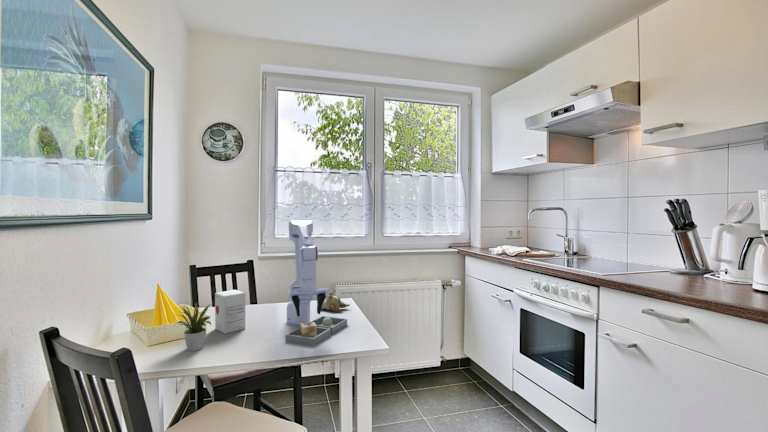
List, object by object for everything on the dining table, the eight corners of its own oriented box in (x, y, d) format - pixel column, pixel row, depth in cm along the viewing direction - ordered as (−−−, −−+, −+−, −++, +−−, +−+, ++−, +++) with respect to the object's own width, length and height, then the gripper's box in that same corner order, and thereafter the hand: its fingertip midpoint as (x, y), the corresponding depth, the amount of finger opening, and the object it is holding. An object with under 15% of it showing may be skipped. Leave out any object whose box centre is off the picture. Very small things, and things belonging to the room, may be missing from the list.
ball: (320, 328, 150) (320, 318, 150) (325, 325, 154) (325, 315, 154) (328, 329, 149) (328, 319, 149) (333, 326, 152) (333, 316, 152)
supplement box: (214, 329, 151) (214, 292, 151) (235, 324, 157) (235, 289, 157) (224, 334, 145) (223, 296, 144) (246, 328, 151) (245, 292, 151)
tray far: (306, 331, 148) (306, 323, 148) (322, 322, 159) (322, 315, 159) (332, 335, 144) (332, 327, 144) (347, 326, 155) (347, 319, 155)
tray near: (285, 342, 136) (285, 334, 135) (304, 332, 147) (304, 325, 147) (313, 347, 131) (313, 338, 131) (330, 336, 142) (330, 328, 142)
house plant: (164, 360, 120) (164, 309, 120) (170, 345, 133) (169, 300, 132) (213, 353, 126) (213, 305, 125) (214, 339, 138) (213, 296, 138)
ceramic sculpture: (324, 288, 186) (351, 293, 181) (323, 305, 187) (350, 310, 182) (312, 293, 176) (341, 298, 171) (312, 311, 177) (340, 316, 172)
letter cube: (303, 341, 136) (303, 327, 135) (300, 336, 140) (300, 323, 140) (316, 339, 138) (316, 325, 137) (313, 335, 142) (313, 321, 142)
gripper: (290, 281, 132) (290, 319, 132) (330, 278, 138) (330, 315, 138) (287, 278, 138) (287, 314, 139) (325, 275, 144) (325, 310, 144)
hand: (308, 314), depth 139 cm, fingers open, 7 cm apart
